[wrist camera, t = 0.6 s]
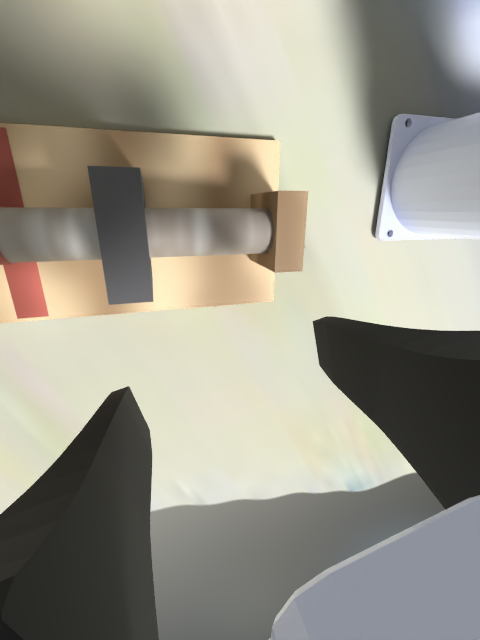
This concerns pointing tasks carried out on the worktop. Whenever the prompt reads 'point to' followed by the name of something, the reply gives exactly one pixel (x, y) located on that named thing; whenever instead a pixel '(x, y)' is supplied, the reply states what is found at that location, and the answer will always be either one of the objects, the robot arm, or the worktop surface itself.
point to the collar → (122, 233)
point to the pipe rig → (161, 219)
